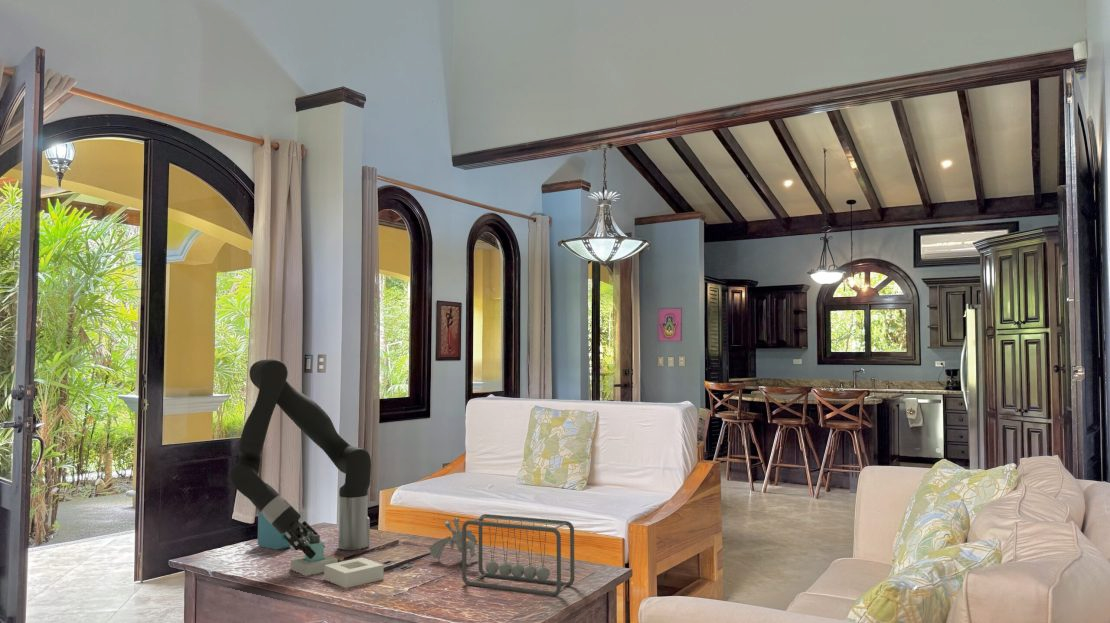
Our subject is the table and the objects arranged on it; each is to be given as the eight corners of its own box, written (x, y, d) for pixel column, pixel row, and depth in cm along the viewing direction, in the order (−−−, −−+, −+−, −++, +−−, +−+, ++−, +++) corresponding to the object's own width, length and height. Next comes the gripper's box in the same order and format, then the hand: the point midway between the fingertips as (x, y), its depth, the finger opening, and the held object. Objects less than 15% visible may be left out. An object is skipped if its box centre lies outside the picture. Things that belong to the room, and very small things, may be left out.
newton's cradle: (461, 584, 210) (461, 520, 211) (479, 575, 220) (479, 513, 221) (560, 597, 198) (559, 528, 199) (575, 586, 208) (574, 521, 209)
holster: (321, 563, 234) (321, 553, 234) (337, 569, 226) (337, 559, 227) (290, 569, 227) (290, 559, 227) (306, 576, 219) (306, 565, 220)
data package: (292, 547, 254) (292, 511, 255) (281, 550, 250) (281, 513, 251) (268, 543, 260) (268, 508, 261) (257, 546, 256) (257, 510, 257)
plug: (317, 566, 229) (317, 533, 230) (323, 569, 226) (324, 535, 227) (304, 569, 227) (305, 535, 227) (311, 572, 224) (311, 537, 224)
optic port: (361, 571, 224) (361, 557, 225) (383, 579, 216) (383, 564, 216) (324, 579, 216) (324, 565, 216) (345, 588, 207) (345, 573, 208)
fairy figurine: (483, 559, 227) (462, 518, 226) (437, 577, 233) (416, 537, 233) (496, 544, 236) (475, 505, 235) (450, 561, 242) (431, 523, 242)
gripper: (281, 509, 221) (319, 549, 220) (298, 501, 235) (334, 538, 234) (262, 528, 220) (301, 568, 220) (280, 518, 235) (316, 556, 234)
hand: (318, 552), depth 227 cm, fingers open, 8 cm apart
